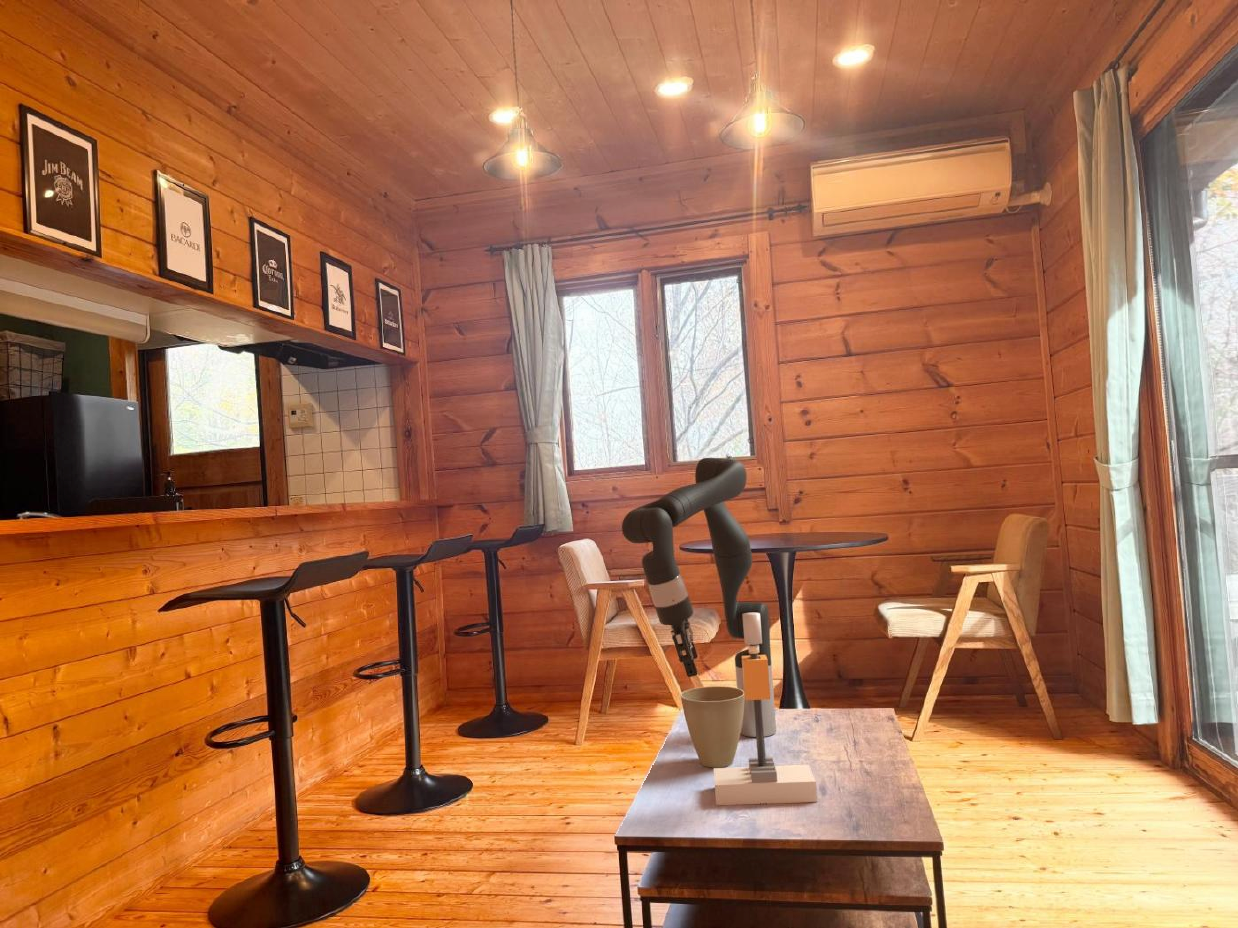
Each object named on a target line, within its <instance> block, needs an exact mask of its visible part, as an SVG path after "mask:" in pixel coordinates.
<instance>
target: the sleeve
mask: <svg viewBox="0 0 1238 928" xmlns="http://www.w3.org/2000/svg"><path fill="white" fill-rule="evenodd" d="M742 669H743V683H744V695H745V699H746V700H764V699H771V698H770V684H769V671H768V659H767V657H766V655H758V659H751V658H750V656H742Z"/></svg>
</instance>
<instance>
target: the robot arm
mask: <svg viewBox="0 0 1238 928" xmlns="http://www.w3.org/2000/svg"><path fill="white" fill-rule="evenodd" d="M694 471H695V473H694V478H695V483H693V484H689V485H684V486H681V487H678V488H675V489H673V490H671V491H670V492H668V493H667V494H664V495H663V496H661V497H660V498H659V499H656V500H655V501H652V502H649V503H646V504H644V505H641V506H639V507H635V508H634V509H632V510H630V511H628V513H626V515H625V516H624V518H623V520H622V523H621V532H622V535H623V536H624V538H625V540H627V541H628V542H629V543H630V542H631V543H632V544H647V543H651V545H652V550H651V551H649V552H647V553H646V554H644V555H643V556H642V559H641V565H642V568H643V572H644V575H645V579H646V581H647V584H648V588H649V594H650V597H651V600H652V602H653V603H652V604H653V606H654V609H655V612H656V615H657V618H658V621H659V623H660V624H661V625H663V626H671V630H670V635H671V639H672V640H673V644H674V647H675V650H676V653H677V656H678V660H679V663H680V664H681V663H682V664H683V667H684V669H685V673H686V677H688V678H692V677H696V676H697V675H698V670H697V667H696V666H697V665H696V664H695V660H696V659H698V653H697V650H696V646H695V643H694V634H693V630H692V627H691V623H690V621H689V619H690V618H691V617H692V616H693V614H694V609H693V606H692V602H691V600H690V596H689V593H688V590H687V587H686V584H685V581H684V579H683V577H682V574H681V572H680V570H679V566H678V564H677V561H676V558H675V545H674V544H675V543H674V528H676V527H678V526H679V525H682V523H683V522H686V520H688V519H690V518H691V517H693V516H695V515H696V514H698V513H699V512H701V511H703V513H704V516H705V519H706V523H707V527H708V531H709V536H710V540H711V547H712V552H713V556H714V557H713V558H714V563H715V565H716V570H717V575H718V579H719V583H720V588H721V594H722V601H723V610H724V617H725V623H726V624H725V625H726V629H727V632H728V634H729V636H730V637H732V638H733V639H743V640H744V628H743V614H744V613H752V612H755V613H760V620H761V634H762V643H761V644H757V645H759V653H758V655H766V657H767V659H768V671H769V684H770V698H771V699H764V700H761V701H762V715H763V729H764V738H765V737H769V736H773V735H775V734H776V733H777V720H776V708H775V707H776V706H775V696H774V683H773V682H774V680H773V668H772V667H773V666H772V657H771V656H772V654H771V635H770V634H771V633H770V632H771V628H770V627H771V626H770V624H771V623H770V622H771V621H770V612H769V611H770V610H769V608H768V605H767V604H766V603H765V602H763V601H762V602H761V601H752V602H751V601H745V602H744V601H742V602H740V601H739V600H738V593H739V592H740V589H741V586H742V584H744V583H743V582H745V579H746V578H747V576H748V574H749V572H750V570H751V568H752V565H753V555H752V548H751V543H750V540H749V537H748V534H747V531H745V529H744V528H743V527H742V526H741V524H740V523H739V521H738V520H737V518H735V517H734V516H733V514H732V513H731V512H730V510H729V509H728V507H727V506H726V503H725V502H726V501H729V500H732V499H734V498H736V497H738V496H740V495H741V494H742V493H743V491H744V490H745V487H746V484H747V479H748V478H747V476H748V475H747V470H746V468H745V466H744V464H743V463H742V462H740V461H738V460H735V459H729V458H720V457H704V458H701V459H700V460H699V461H698V463H697V465H696V467H695V470H694ZM683 651H685V654H683ZM742 656H750V653H749V650H748V648H747V649H744V650H742V651H738V652H737V653H736V654H735V656H734V665H735V666H734V667H735V679H736V688H738V689H741V690H743V691H744V683H743V669H742ZM740 735H742V736H745V737H748V738H749V737H750V738H756V727H755V713H754V700H746V699H744V712H743V720H742V727H741V732H740Z"/></svg>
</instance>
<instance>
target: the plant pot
mask: <svg viewBox="0 0 1238 928" xmlns="http://www.w3.org/2000/svg"><path fill="white" fill-rule="evenodd" d="M744 699H745V695H744V691H743V690H741V689H738V688H737V687H733V686H725V685H724V686H722V685H720V686H719V685H717V686H716V685H715V686H714V685H713V686H712V685H711V686H699V687H694V688H690V689H686V690H684V691H682V692H681V693H680V700H681V704H682V709H683V715H684V719H685V723H686V726H687V729H688V732H689V733H688V734H689V737H690V738H691V741H692V744H693V747H694V750H695V752H696V755H697V757H698V760H699V762H700V764H701V765H702V766H703V767H704V766H705V767H708V768H726V767H729V766H731V765H732V764H733V763H734V760H735V756H736V753H737V749H738V745H739V742H740V738H741V737H740V736H741V733H740V732H741V727H742V720H743V712H744Z"/></svg>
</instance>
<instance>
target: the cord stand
mask: <svg viewBox="0 0 1238 928" xmlns="http://www.w3.org/2000/svg"><path fill="white" fill-rule="evenodd" d="M743 628H744V639H743V640H744V644H745V645H748V647H747V649H748V650H749V653H750V658H751V659H758V653H759V645H757V644H761V643H762V634H761V620H760V613H755V612H752V613H744V614H743ZM754 713H755V727H756V737H755V738H756V740H755V741H756V751H757V752H756V753H757V757H749V758H748V766H742V767H741V766H740V767H717V768H716V767H713V779H714V780H713V781H714V793H715V795H714V796H715V806H733V805H735V806H737V804H738V805H754V804H755V805H761V804H762V805H763V803H764V804H765V803H767V804H787V803H789V804H791V803H792V804H793V803H796V804H797V803H818V796H817V794H818V793H817V781H816V779H815V776H814V775H813V772H812V769H811V767H810V764H797V765H795V764H794V765H791V764H790V765H775V761H774V758H773V756H771V757H767V756H766V746H765V737H764V729H763V715H762V701H761V700H754ZM760 803H761V804H760Z"/></svg>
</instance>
